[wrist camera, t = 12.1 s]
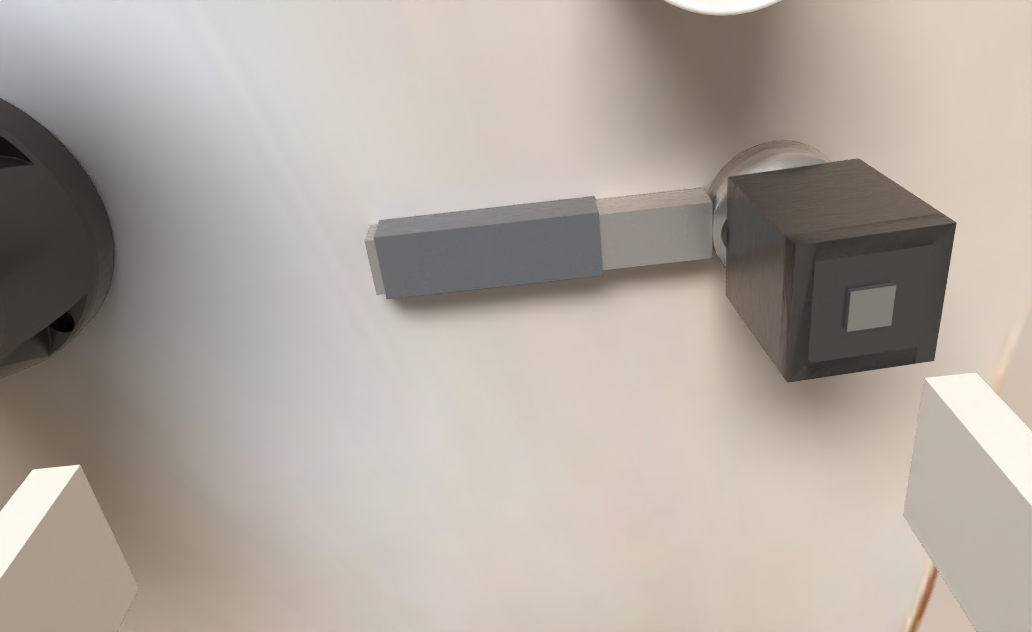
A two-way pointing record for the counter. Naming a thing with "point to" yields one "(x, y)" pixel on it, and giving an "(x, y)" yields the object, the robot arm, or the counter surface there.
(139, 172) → the counter surface
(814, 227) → the socket
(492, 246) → the ratchet
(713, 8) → the mug
